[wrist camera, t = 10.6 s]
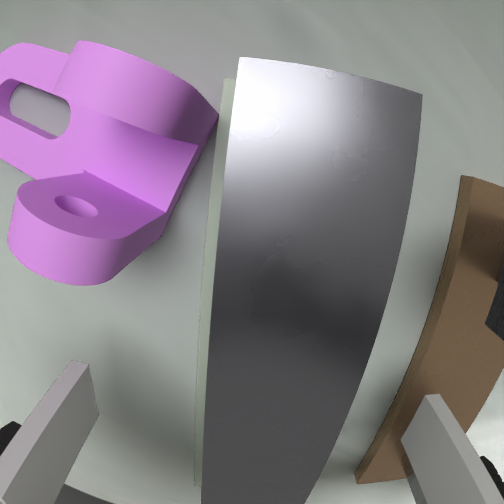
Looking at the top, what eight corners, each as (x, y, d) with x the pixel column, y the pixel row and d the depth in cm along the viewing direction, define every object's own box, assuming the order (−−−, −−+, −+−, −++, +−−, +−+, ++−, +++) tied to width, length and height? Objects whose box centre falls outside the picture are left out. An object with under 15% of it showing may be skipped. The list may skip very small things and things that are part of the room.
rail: (210, 480, 18) (200, 553, 12) (248, 104, 11) (239, 57, 6) (269, 486, 18) (270, 558, 12) (351, 121, 11) (422, 94, 6)
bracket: (220, 116, 12) (180, 71, 5) (161, 235, 14) (83, 304, 7) (15, 41, 11) (-73, 15, 4) (-21, 134, 12) (-114, 141, 5)
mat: (195, 480, 18) (194, 485, 18) (225, 80, 12) (224, 78, 11) (285, 489, 18) (285, 493, 18) (380, 106, 12) (383, 105, 11)
